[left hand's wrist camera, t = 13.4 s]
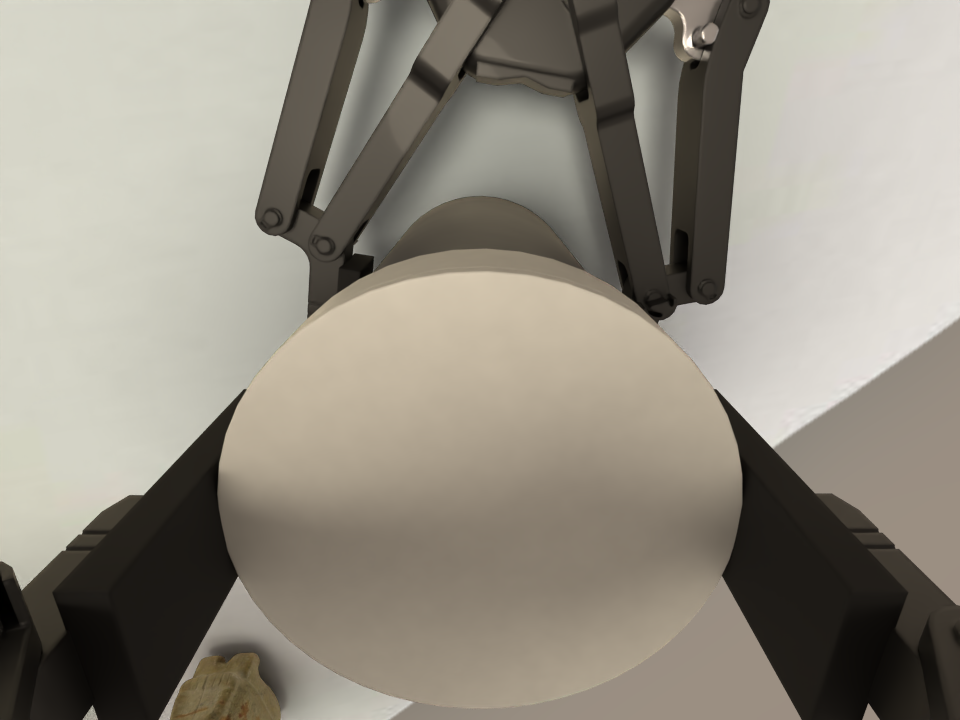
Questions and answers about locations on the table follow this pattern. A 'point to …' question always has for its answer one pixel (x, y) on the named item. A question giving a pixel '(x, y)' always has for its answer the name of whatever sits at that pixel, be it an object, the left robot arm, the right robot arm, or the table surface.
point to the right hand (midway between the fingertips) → (462, 433)
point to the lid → (480, 482)
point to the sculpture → (226, 692)
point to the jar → (479, 231)
